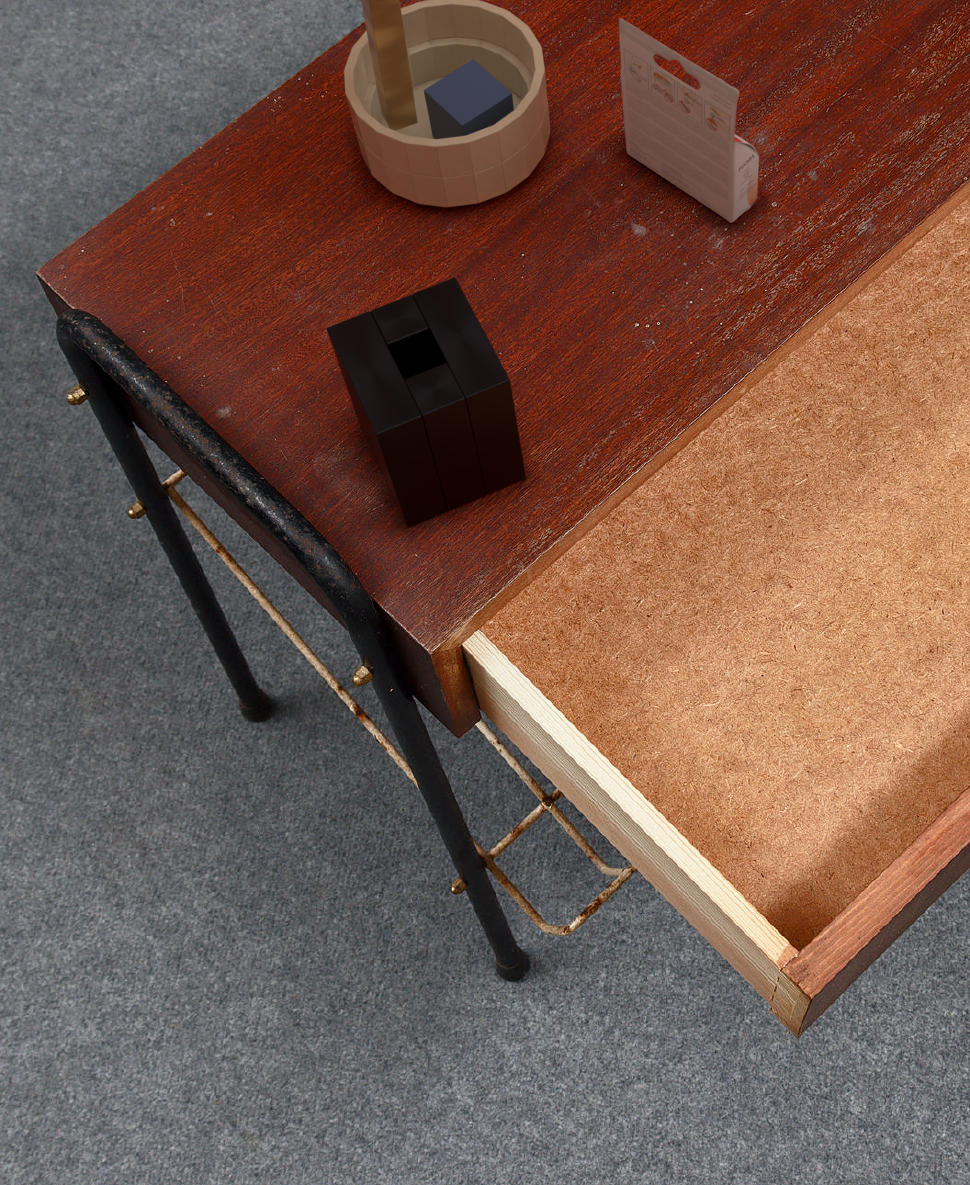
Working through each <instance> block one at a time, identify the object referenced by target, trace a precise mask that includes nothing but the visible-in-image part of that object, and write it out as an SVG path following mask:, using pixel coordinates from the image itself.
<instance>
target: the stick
mask: <svg viewBox="0 0 970 1185" xmlns="http://www.w3.org/2000/svg"><path fill="white" fill-rule="evenodd" d="M360 1H361V2H360V3H361V7H362V8H361V9H362V14H363V19H364V24H365V31H366V30H367V36H368V41H369V47H370V53H371V58H372V64H373V69H374V75H375V81H376V86H377V92H378V97H379V103H380V109H381V113H382V115H383V117H384V119H385V121H386V123H387V124H388V126H389V128H390V129H392V130H394V131H395V130H398V129H401V128H404V127H407V126H410V125H413V124H416V123H418V121H417V114H416V108H415V101H414V94H413V88H412V81H411V74H410V67H409V61H408V54H407V47H406V41H405V34H404V27H403V21H402V14H401V8H402V7H401V2H400V0H360Z"/></svg>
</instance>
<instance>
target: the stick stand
mask: <svg viewBox="0 0 970 1185" xmlns="http://www.w3.org/2000/svg"><path fill="white" fill-rule="evenodd" d="M325 330H326V333H327V335H328V338H329V341H330V345H331V347H332V349H333V353H334V354H335V358H336V361H337V364H338V366H339V370H340V372H341V375H342V378H343V381H344V385H345V386H346V390H347V392H348V395H349V398H350V401H351V404H352V406H353V409H354V412H355V415H356V418H357V421H358V424H359V426H360V429H361V433H362V434H363V435H364V438H365V440H366V442H367V444H368V447H369V449H370V451H371V453H372V455H373V457H374V460H375V462H376V464H377V467H378V468H379V471H380V473H381V474H382V477H383V479H384V482H385V483H386V485H387V488H388V490H389V492H390V494H391V496H392V498H393V500H394V502H395V505H396V507H397V509H398V511H399V514H400V515H401V518H402V520H403V521H404V524H405V526H406V528H407V529H410V528H412V527H415V526H417V525H419V524H421V523H424V522H426V521H429V520H431V519H433V518H436V517H438V516H440V515H443V514H445V513H447V512H450V511H452V510H455V509H457V508H459V507H462V506H464V505H466V504H469V503H471V502H474V501H476V500H479V499H481V498H483V497H485V496H489V495H491V494H493V493H495V492H498V491H500V490H502V489H505V488H507V487H510V486H512V485H515V484H516V483H520V482H521V481H524V480H526V479H527V476H526V470H525V463H524V457H523V451H522V445H521V438H520V433H519V432H520V431H519V427H518V420H517V414H516V408H515V403H514V402H515V401H514V396H513V389H512V388H513V387H512V383H511V379H510V376H509V375H508V373H507V371H506V369H505V367H504V365H503V363H502V362H501V360H500V358H499V356H498V354H497V352H496V351H495V349H494V347H493V345H492V343H491V340H489V337H488V336H487V334H486V332H485V330H484V328H483V326H482V325H481V323H480V321H479V319H478V317H477V315H476V313H475V311H474V309H473V307H472V306H471V304H470V302H469V300H468V298H467V296H466V294H465V293H464V291H463V288H462V287H461V285H460V283H459V282H458V279H457V278H456V277H455V276H454V277H452V278H448V279H446V280H444V281H441V282H438V283H436V284H433V285H430V286H429V287H426V288H423V289H421V290H419V291H416V292H413V293H412V294H409V295H406V296H404V297H401V298H398V299H396V300H393V301H391V302H389V303H386V304H384V305H381V306H378V307H376V308H373V309H371V310H368V311H366V312H363V313H361V314H358V315H355V316H353V317H350V318H348V319H345V320H342V321H340V322H338V323H335V324H332V325H330V326H328V327H326V329H325Z"/></svg>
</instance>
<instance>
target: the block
mask: <svg viewBox="0 0 970 1185" xmlns="http://www.w3.org/2000/svg"><path fill="white" fill-rule="evenodd" d="M424 95H425V100H426V105H427V110H428V115H429V121H430V126H431V131H432V136H433V137H434V138H435V139H443V138H451V137H459V136H466V135H469V134H472V133H474V132H477V131H479V130H482V129H485V128H487V127H490V126H493V125H494V124H496V123H497V122H499V121H500V120H501V119H503V118H504V117H506V116H507V115H508V114H510V113H511V112H512V111H514V105H513V97H512V93H511V92H510V91H509V90H508V89H507V88H505V87H504V86H503V85H502V84H501V83H500V82H499V81H498V80H496V79H495V78H494V77H493V76H492V75H491V74H490V73H489V72H487V71H486V70H485V69H484V68H483V67H482V66H481V65H479V64H478V63H477V62H476V61H475V60H474V59H472V60H471V61H469V62H468V63H466V64H464V65H463V66H461V67H460V68H458V69H457V70H455V71H453V72H452V73H450V74H449V75H447V76H445V77H444V78H442V79H441V80H439V81H437V82H436V83H434V84H433V85H431V86H430V87H428V88H426V89H425V90H424Z"/></svg>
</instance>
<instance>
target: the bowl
mask: <svg viewBox="0 0 970 1185" xmlns="http://www.w3.org/2000/svg"><path fill="white" fill-rule="evenodd" d="M401 14H402V21H403V27H404V34H405V41H406V47H407V54H408V61H409V67H410V74H411V81H412V88H413V94H414V101H415V108H416V114H417V121H418V123H416V124H413V125H410V126H407V127H404V128H401V129H398V130H395V131H394V130H392V129H390V128H389V126H388V124H387V123H386V121H385V119H384V117H383V115H382V113H381V109H380V103H379V97H378V92H377V86H376V81H375V75H374V69H373V64H372V58H371V53H370V47H369V41H368V36H367V30H366V29H365V31H364V33H362V35H361V36H360V37H359V38H358V40H357V41H356V42H355V43H354V45H352V47H351V50H350V53H349V55H348V58H347V61H346V64H345V66H344V69H343V76H344V77H343V78H344V93H345V97H346V101H347V105H348V108H349V111H350V116H351V120H352V124H353V127H354V132H355V136H356V138H357V139H356V140H357V142H358V147H359V150H360V155H361V156H362V160H363V161H364V163H365V164H366V167H367V168H368V170H369V172H370V175H371V176H372V177H373V178H374V179H375V180H376V181H378V182H379V183H380V184H381V185H383V186H384V187H385V188H386V189H387V190H388V191H389V192H391V193H392V194H394V195H396V196H398V197H401V198H404V199H405V200H408V201H410V202H413V203H415V204H418V205H425V206H433V207H439V208H440V207H441V208H453V207H461V206H470V205H477V204H481V203H482V202H486V201H488V200H491V199H494V198H496V197H499V196H501V195H504V194H506V193H508V192H510V191H511V190H513V188H515V187H516V186H518V185H519V184H520V183H522V182H524V181H525V180H526V179H527V178H528V177H530V175H531V174H532V173H533V171H534V170H535V169H536V167H537V166H538V164H539V163H540V162H541V160H542V159H543V158H544V157H545V156H544V155H545V154H546V150H547V146H548V143H549V139H550V135H551V121H550V110H549V101H548V99H549V98H548V90H547V79H546V68H545V61H544V55H543V48H542V45H541V43H540V42H539V40H538V39H537V37H536V36H535V34H534V33H533V31H532V29H531V28H530V26H529V25H528V24H526V23H525V21H523V20H521V19H520V18H518V17H517V15H515V14H513V13H512V12H511V11H509V10H508V9H505V8H502V7H500V6H497V5H494V4H492V3H489V2H486V1H484V0H422V1H421V0H419V1H418V2H415V3H412V4H409V5H407V6H404V7H401ZM472 59H474V60H475V61H476V62H477V63H478V64H479V65H481V66H482V67H483V68H484V69H485V70H486V71H487V72H489V73H490V74H491V75H492V76H493V77H494V78H495V79H496V80H498V81H499V82H500V83H501V84H502V85H503V86H504V87H505V88H507V89H508V90H509V91H510V92H511V93H512V97H513V105H514V111H512V112H511V113H510V114H508V115H507V116H506V117H504V118H503V119H501V120H500V121H499V122H497V123H496V124H494V125H493V126H490V127H487V128H485V129H482V130H479V131H477V132H474V133H472V134H469V135H466V136H459V137H451V138H443V139H435V138H434V137H433V136H432V131H431V126H430V121H429V115H428V110H427V105H426V100H425V95H424V90H425V89H426V88H428V87H430V86H431V85H433V84H434V83H436V82H437V81H439V80H441V79H442V78H444V77H445V76H447V75H449V74H450V73H452V72H453V71H455V70H457V69H458V68H460V67H461V66H463V65H464V64H466V63H468V62H469V61H471V60H472Z"/></svg>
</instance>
